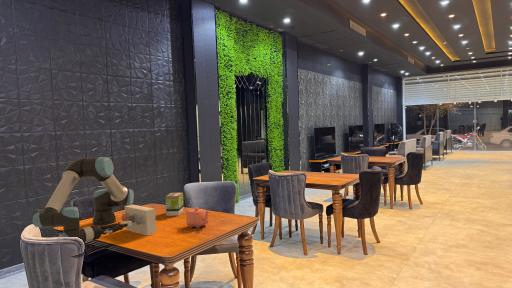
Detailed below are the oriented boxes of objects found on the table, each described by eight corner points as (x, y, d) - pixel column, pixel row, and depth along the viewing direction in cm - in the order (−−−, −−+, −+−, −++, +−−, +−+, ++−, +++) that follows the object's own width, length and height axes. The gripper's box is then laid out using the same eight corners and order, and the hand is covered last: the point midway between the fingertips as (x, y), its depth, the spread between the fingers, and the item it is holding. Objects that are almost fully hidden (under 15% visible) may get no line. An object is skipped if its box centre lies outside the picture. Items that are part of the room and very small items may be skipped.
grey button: (128, 222, 220) (128, 215, 219) (131, 221, 221) (130, 214, 221) (132, 223, 217) (132, 216, 217) (135, 222, 218) (134, 215, 218)
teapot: (180, 227, 230) (179, 208, 229) (192, 222, 240) (191, 204, 239) (204, 230, 219) (203, 211, 219) (216, 225, 229) (215, 207, 229)
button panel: (125, 229, 229) (124, 206, 228) (134, 227, 234) (133, 204, 233) (147, 235, 214) (146, 210, 213) (156, 233, 218) (154, 208, 218)
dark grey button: (135, 224, 215) (135, 217, 214) (138, 223, 216) (138, 216, 216) (140, 225, 212) (139, 217, 212) (142, 224, 213) (142, 217, 213)
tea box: (179, 215, 261) (178, 195, 260) (165, 216, 261) (164, 196, 261) (184, 211, 276) (183, 191, 275) (171, 211, 276) (170, 192, 276)
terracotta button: (121, 220, 225) (121, 213, 225) (124, 220, 226) (123, 213, 226) (125, 221, 222) (125, 214, 222) (127, 221, 223) (127, 214, 223)
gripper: (85, 238, 196) (125, 228, 214) (97, 242, 187) (137, 231, 205) (85, 224, 195) (125, 215, 213) (96, 228, 187) (137, 218, 205)
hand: (131, 223), depth 209 cm, fingers closed
